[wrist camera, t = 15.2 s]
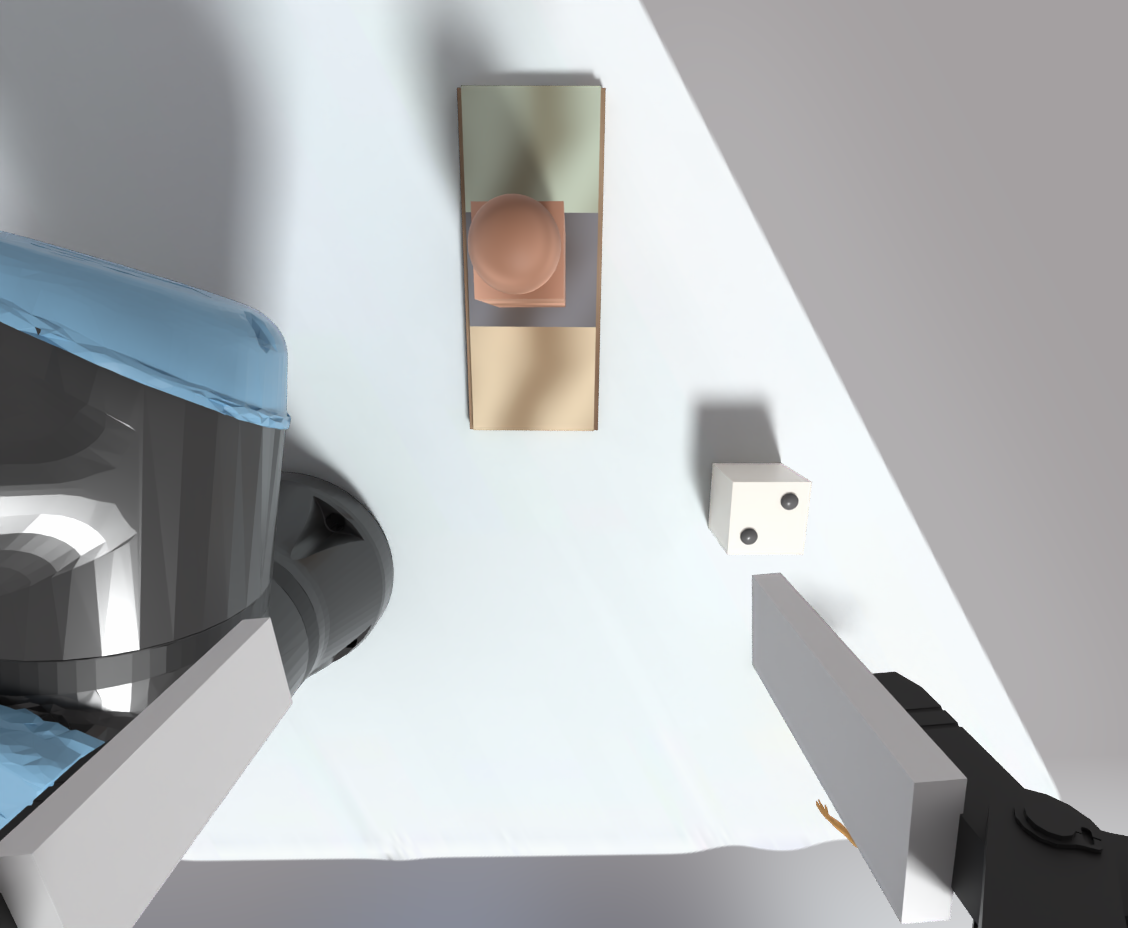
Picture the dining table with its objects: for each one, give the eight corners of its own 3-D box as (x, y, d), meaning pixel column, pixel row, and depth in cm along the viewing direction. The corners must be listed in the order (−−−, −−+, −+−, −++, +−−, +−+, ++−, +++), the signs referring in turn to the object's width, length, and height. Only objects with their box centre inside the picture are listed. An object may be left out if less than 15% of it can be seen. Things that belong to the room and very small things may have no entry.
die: (707, 527, 39) (727, 555, 34) (712, 462, 38) (733, 482, 33) (774, 527, 39) (804, 555, 34) (781, 462, 38) (812, 482, 33)
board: (472, 427, 38) (469, 429, 37) (459, 93, 32) (455, 85, 31) (597, 428, 37) (597, 431, 36) (604, 93, 32) (605, 85, 31)
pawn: (498, 307, 34) (458, 293, 22) (496, 235, 33) (453, 179, 21) (565, 307, 34) (562, 293, 22) (565, 235, 33) (562, 178, 21)
